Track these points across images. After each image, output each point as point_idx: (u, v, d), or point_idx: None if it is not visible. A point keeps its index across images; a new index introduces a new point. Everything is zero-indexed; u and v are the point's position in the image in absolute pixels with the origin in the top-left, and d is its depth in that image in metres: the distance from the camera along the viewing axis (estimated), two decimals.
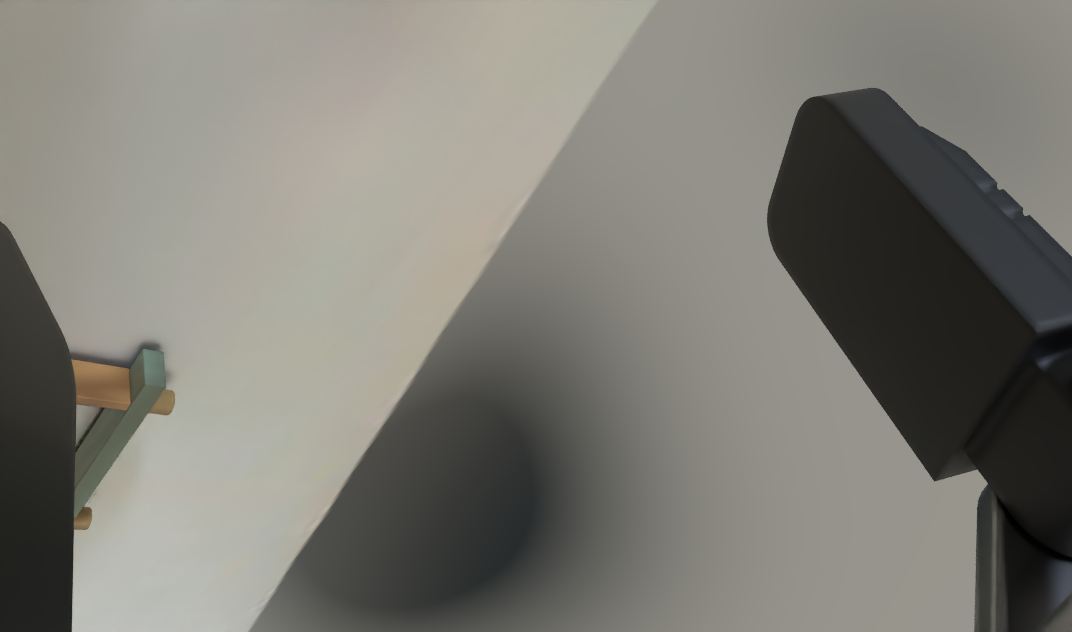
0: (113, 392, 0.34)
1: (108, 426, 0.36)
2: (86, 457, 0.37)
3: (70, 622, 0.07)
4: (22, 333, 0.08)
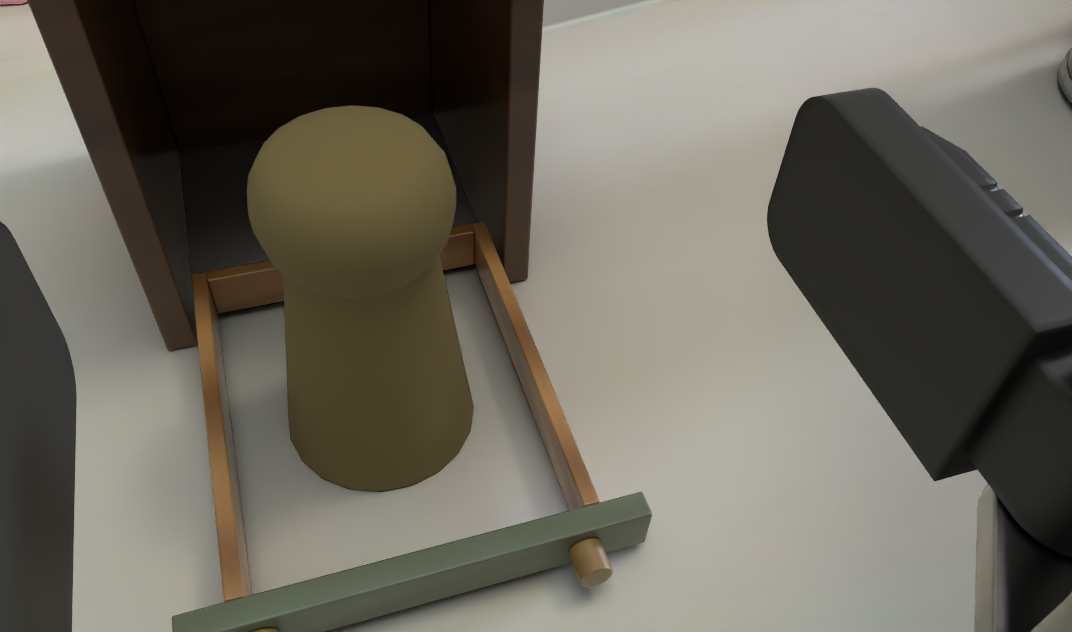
0: None
1: None
2: None
3: (70, 622, 0.07)
4: (22, 333, 0.08)
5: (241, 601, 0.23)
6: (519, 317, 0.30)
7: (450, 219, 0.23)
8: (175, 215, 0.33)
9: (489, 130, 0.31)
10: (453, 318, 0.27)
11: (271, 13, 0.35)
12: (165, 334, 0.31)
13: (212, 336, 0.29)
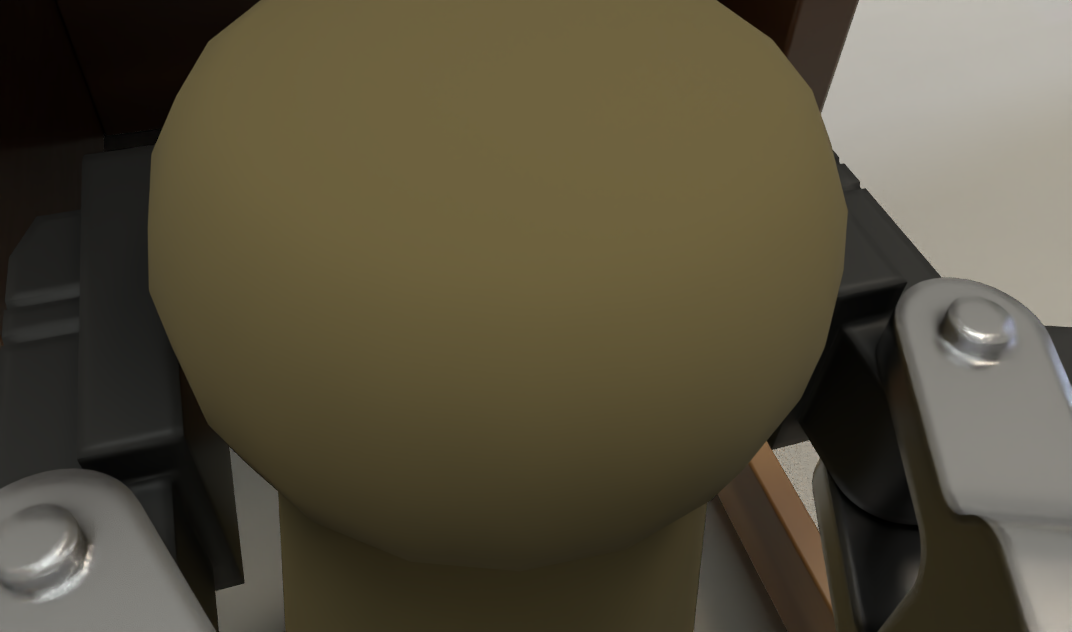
0: None
1: None
2: None
3: (234, 504, 0.08)
4: None
5: None
6: (775, 471, 0.14)
7: None
8: None
9: None
10: None
11: None
12: None
13: None
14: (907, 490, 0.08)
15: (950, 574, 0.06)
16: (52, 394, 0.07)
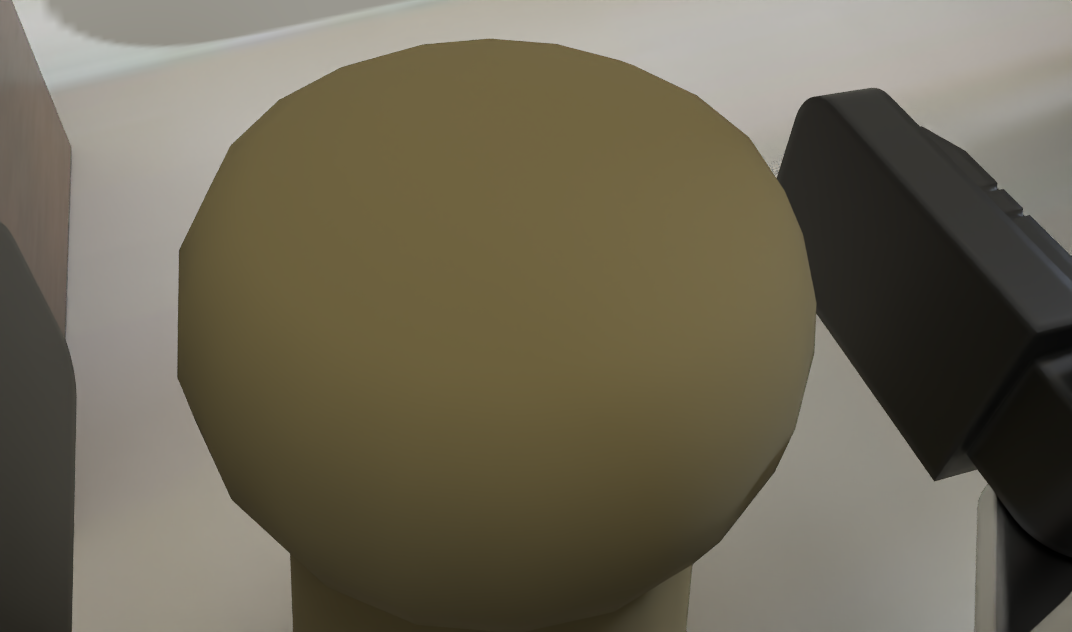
0: None
1: None
2: None
3: (70, 622, 0.07)
4: (24, 333, 0.08)
5: None
6: None
7: None
8: None
9: None
10: None
11: None
12: None
13: None
14: None
15: None
16: None
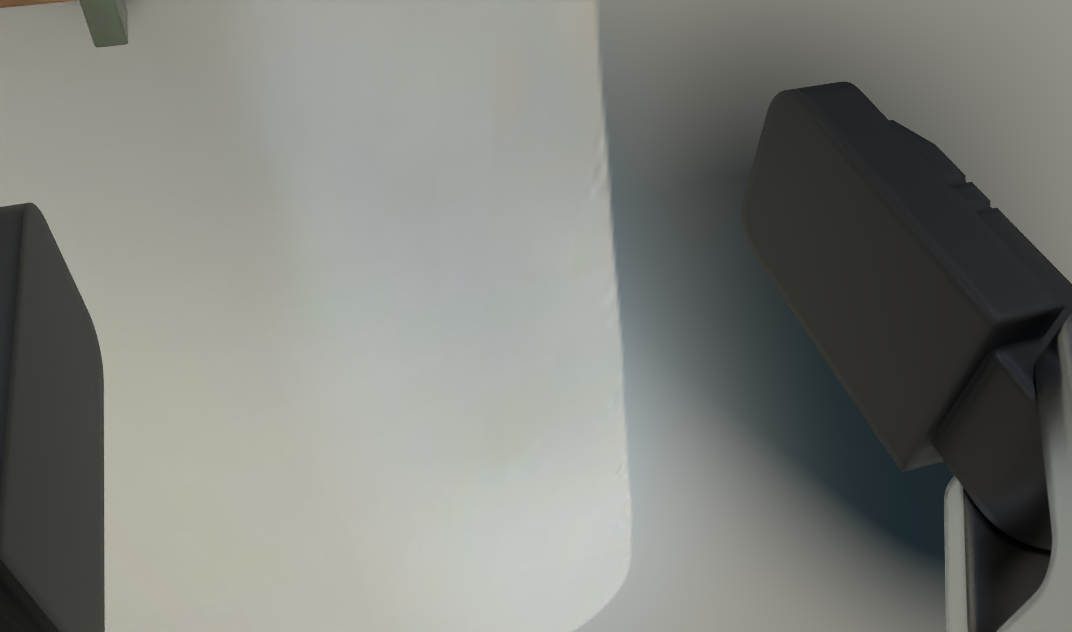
0: None
1: None
2: None
3: (102, 594, 0.08)
4: (55, 312, 0.08)
5: None
6: None
7: None
8: None
9: None
10: None
11: None
12: None
13: None
14: None
15: None
16: None
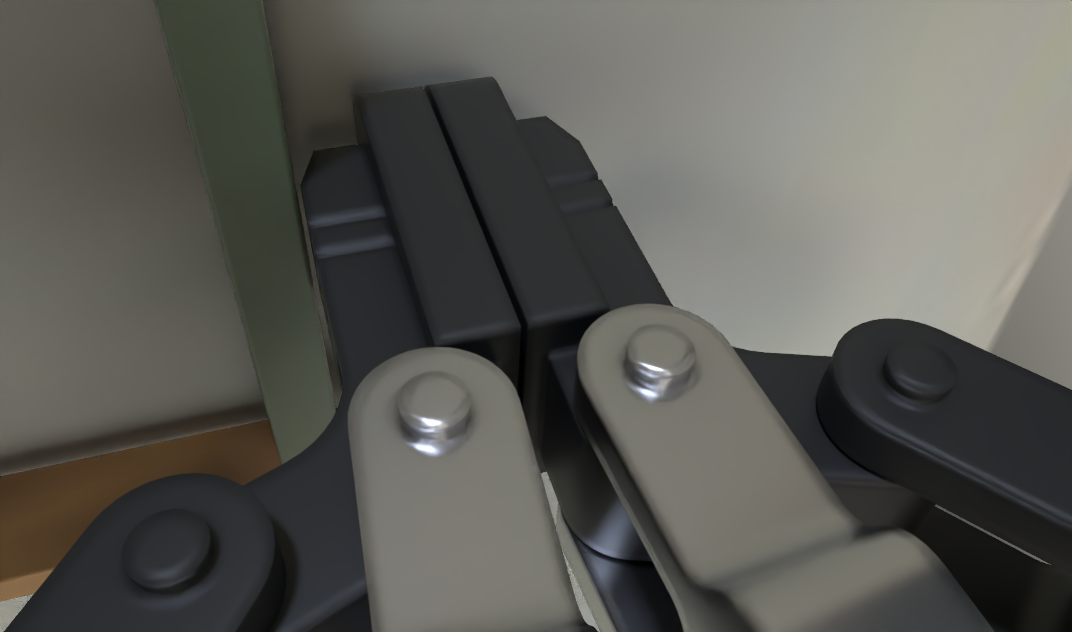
0: None
1: None
2: None
3: None
4: None
5: None
6: None
7: None
8: None
9: None
10: None
11: None
12: None
13: None
14: (615, 525, 0.07)
15: None
16: (375, 298, 0.08)
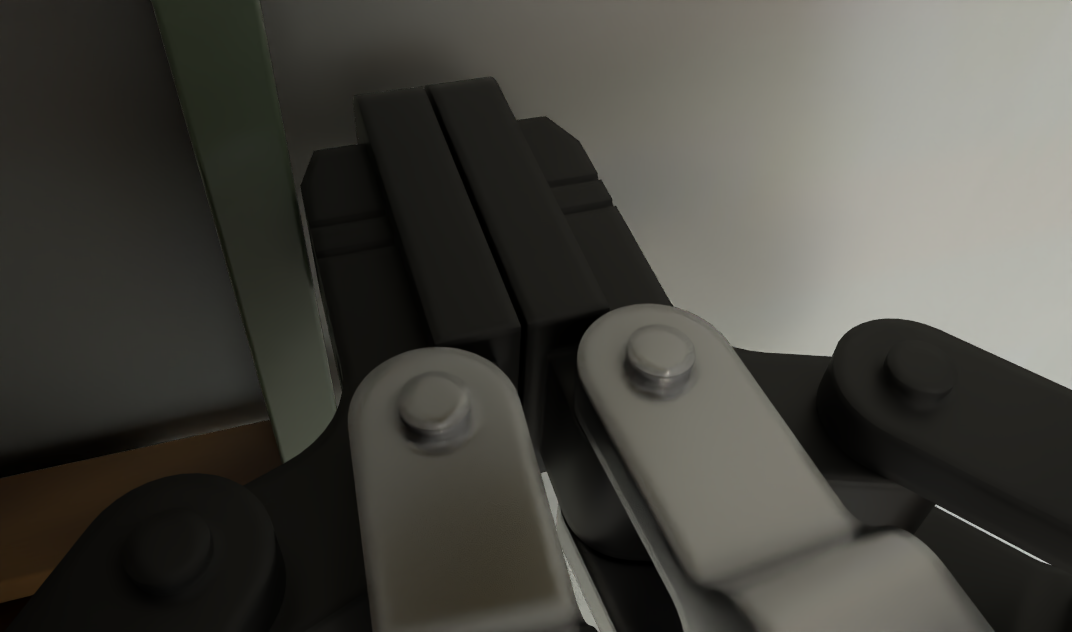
0: None
1: None
2: None
3: None
4: None
5: None
6: None
7: None
8: None
9: None
10: None
11: None
12: None
13: None
14: (616, 525, 0.07)
15: None
16: (375, 298, 0.08)
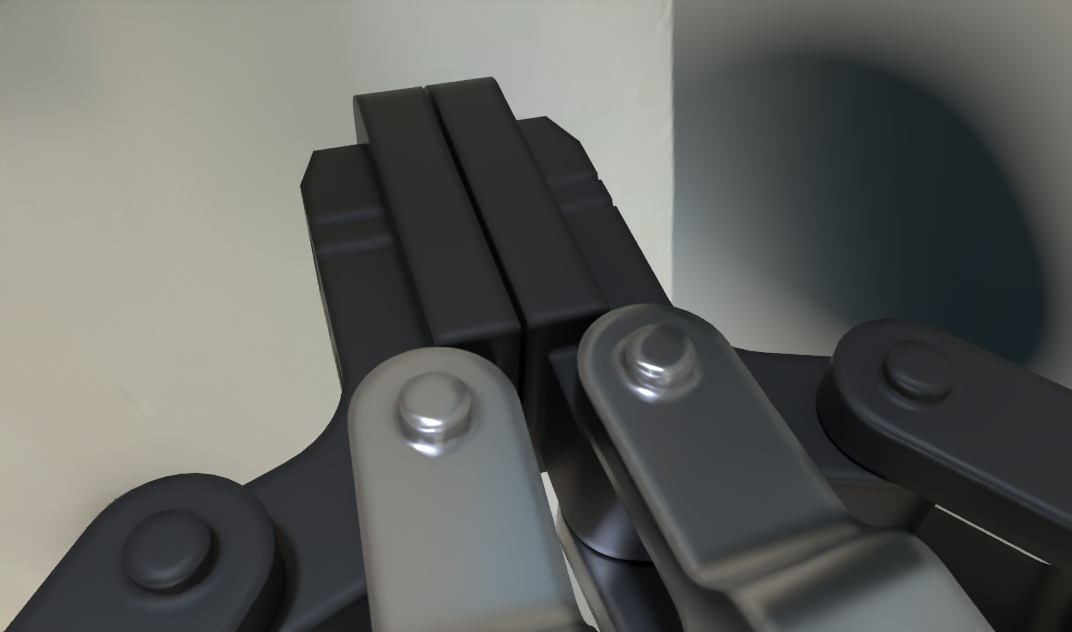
0: None
1: None
2: None
3: None
4: None
5: None
6: None
7: None
8: None
9: None
10: None
11: None
12: None
13: None
14: (617, 525, 0.07)
15: None
16: (375, 298, 0.08)
